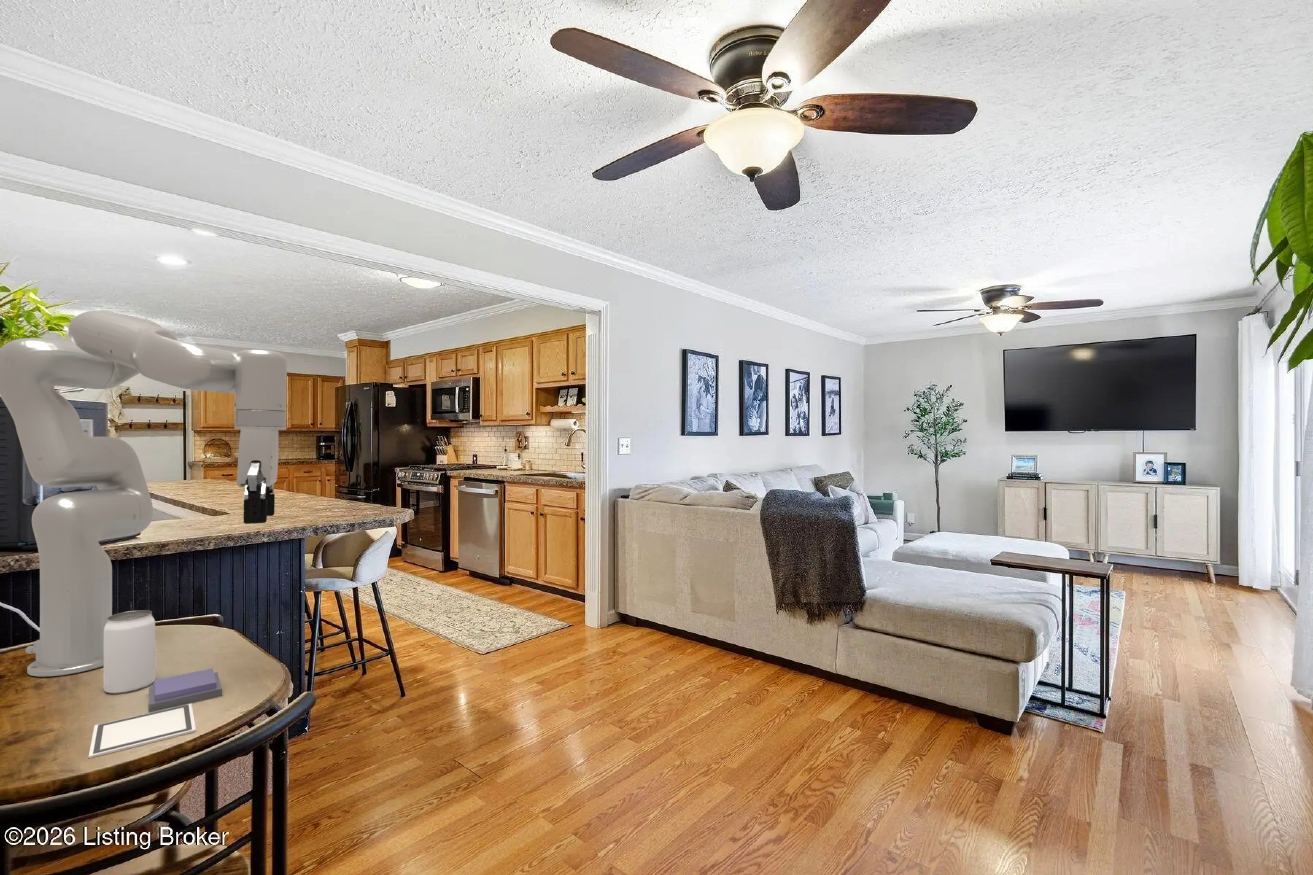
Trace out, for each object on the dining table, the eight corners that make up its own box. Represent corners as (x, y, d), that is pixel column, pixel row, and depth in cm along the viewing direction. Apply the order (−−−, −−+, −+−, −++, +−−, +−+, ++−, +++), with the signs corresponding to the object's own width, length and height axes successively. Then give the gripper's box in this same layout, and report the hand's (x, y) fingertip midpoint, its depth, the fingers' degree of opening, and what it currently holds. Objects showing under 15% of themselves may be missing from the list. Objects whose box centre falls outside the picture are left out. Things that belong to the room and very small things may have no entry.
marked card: (88, 758, 77) (88, 755, 77) (94, 727, 86) (94, 724, 86) (195, 731, 85) (195, 728, 85) (191, 705, 93) (191, 702, 93)
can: (95, 697, 96) (96, 622, 96) (113, 682, 102) (113, 611, 102) (146, 690, 98) (146, 617, 98) (160, 676, 104) (161, 607, 104)
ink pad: (148, 712, 90) (148, 697, 90) (148, 693, 97) (148, 679, 97) (222, 695, 96) (222, 682, 96) (217, 678, 103) (217, 666, 103)
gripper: (243, 421, 111) (242, 514, 111) (224, 419, 95) (223, 527, 95) (291, 422, 114) (290, 512, 114) (280, 421, 98) (278, 525, 98)
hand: (259, 519), depth 104 cm, fingers open, 9 cm apart
